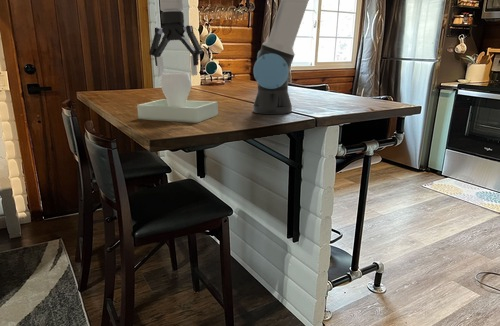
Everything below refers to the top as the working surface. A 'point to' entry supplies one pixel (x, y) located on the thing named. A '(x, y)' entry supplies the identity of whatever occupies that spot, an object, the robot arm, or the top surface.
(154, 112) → the white shallow tray
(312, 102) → the top surface
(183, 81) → the cup
